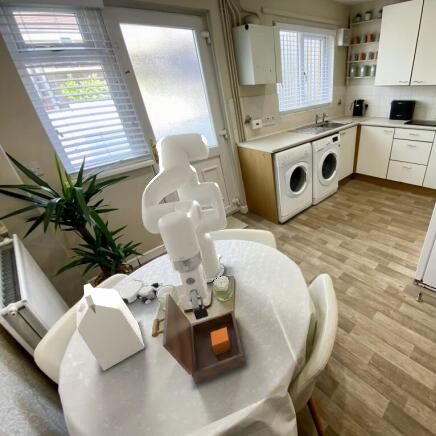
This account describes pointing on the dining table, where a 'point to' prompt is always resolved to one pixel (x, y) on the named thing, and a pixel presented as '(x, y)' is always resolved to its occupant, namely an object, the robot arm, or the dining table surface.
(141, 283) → the robot toy
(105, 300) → the milk
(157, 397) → the dining table surface
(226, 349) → the orange cube
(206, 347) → the chest
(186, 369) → the chest lid
